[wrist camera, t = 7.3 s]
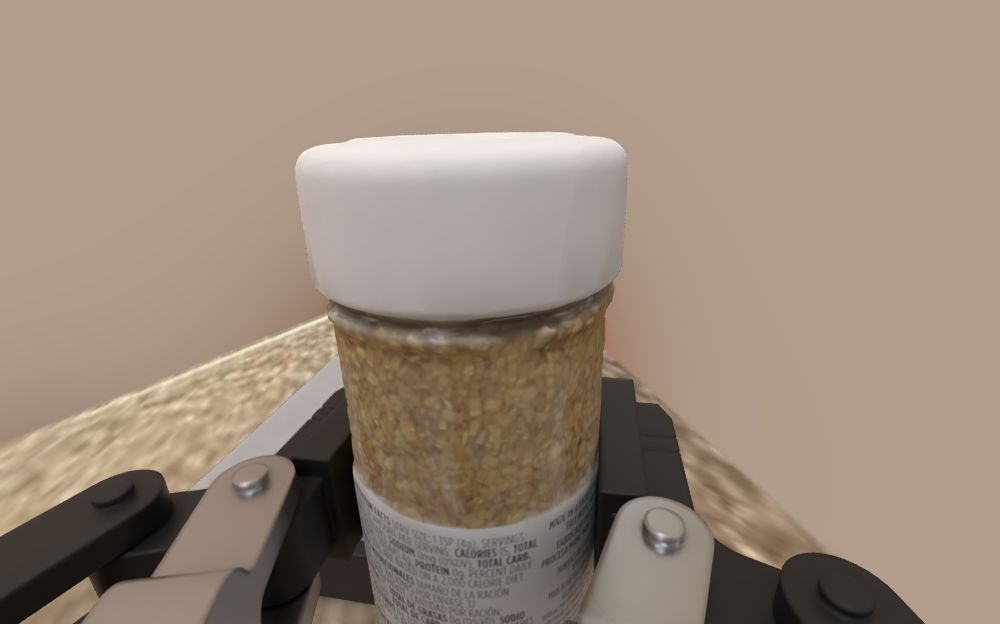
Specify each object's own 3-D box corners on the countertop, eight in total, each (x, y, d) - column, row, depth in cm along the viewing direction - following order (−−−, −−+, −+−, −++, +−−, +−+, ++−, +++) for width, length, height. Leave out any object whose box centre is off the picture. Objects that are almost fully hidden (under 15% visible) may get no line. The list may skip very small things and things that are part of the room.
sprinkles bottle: (478, 600, 15) (454, 132, 10) (617, 701, 12) (681, 129, 7) (354, 745, 11) (219, 141, 6) (510, 929, 9) (488, 141, 4)
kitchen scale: (565, 399, 27) (567, 352, 26) (539, 633, 15) (539, 563, 14) (352, 382, 29) (345, 338, 28) (178, 571, 17) (153, 507, 16)
